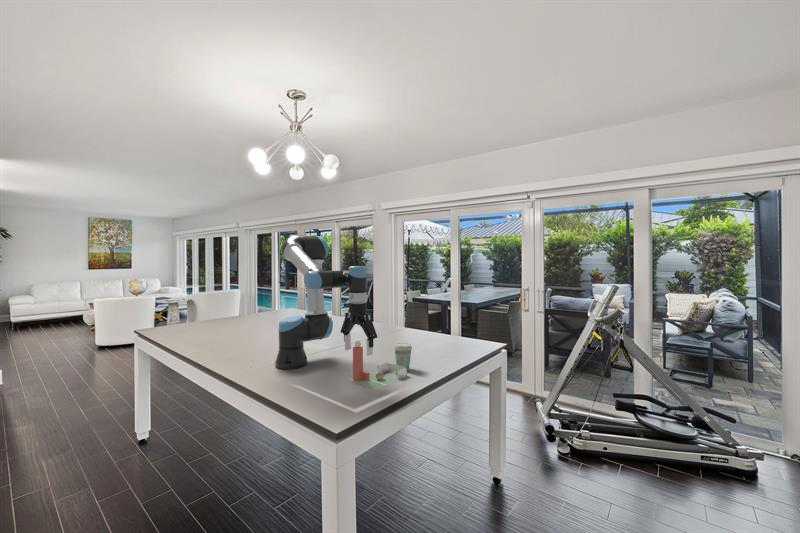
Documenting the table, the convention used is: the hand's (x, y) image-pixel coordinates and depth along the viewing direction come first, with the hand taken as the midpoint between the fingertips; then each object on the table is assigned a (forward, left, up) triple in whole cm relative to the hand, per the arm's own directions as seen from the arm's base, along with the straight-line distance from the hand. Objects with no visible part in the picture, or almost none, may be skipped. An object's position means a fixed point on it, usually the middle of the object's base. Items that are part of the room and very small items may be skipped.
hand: (358, 352), depth 148 cm
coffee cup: (+4, +25, -13) cm, 29 cm away
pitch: (+5, +4, -13) cm, 14 cm away
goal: (+7, +14, -13) cm, 20 cm away
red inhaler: (0, 0, -12) cm, 12 cm away
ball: (+7, +6, -10) cm, 13 cm away
